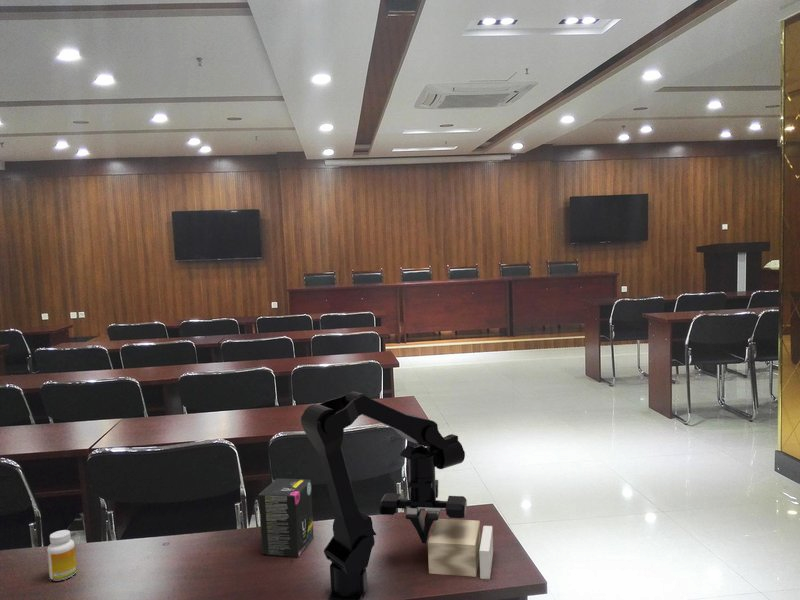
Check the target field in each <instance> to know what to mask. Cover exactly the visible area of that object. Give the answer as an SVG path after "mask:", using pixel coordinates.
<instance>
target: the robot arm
mask: <svg viewBox="0 0 800 600" xmlns="http://www.w3.org/2000/svg"><path fill="white" fill-rule="evenodd" d="M360 416H363V417H366V418H368V419H370V420H373V421H376V422H378V423H380V424H382V425H384V426H387V427H389V428H391V429H393V430H394V431H395V432H396V433H397V434H398V435H400V436H401V437H402V438H403V439H405V440H406V441H408V442H411V443H414V444H417V445H418V446H414V447H413V446H411V445H408V444H407V445H406V446H405V448H404V449H403V450H402V451H401V452H400V454H399V455H400V457H402V458H404V459H407V460H408V473H409V474H408V476H407V477H408V479H407V488H408V490H409V499H405V498H403V496H402V493H396V492H395V493H392V492H387V493H385V494H384V495H383V496H382V498H381V500H380V502H379V514H380V515H382V516H383V515H384V516H393V515H395V514H396V513H397V512H398V509H405V511H406V514H405V519H406V520H409V521H410V522H411V524H412V525H413V527H414V529H415V530H416V532H417V535H418V537H419V539H420V540H421V543H422V544H427V543H428V539H429V538H428V537H429V536H430V530H431V527H432V525H433V523H434V521H437V520H438V519H440V516H441V513H442V511H445V512H446V513H445V514H446V516H448V518H449V519H465V517H466V513H467V508H468V506H467V505H468V503H467V502H468V501H467V498H466V497H465V496H463V495H448V498H447V499H446V500H439V499H438V498H439V479H436V469H438V470H445V469H447V468H450V467H452V466H457V465H460V464H462V463H463V462H464V460H465V457H466V456H465V455H466V452H465V449H464V447H463V444H462V443H461V442H460V440H459V436H458V435H456V434H453V433H451V434H448V435H446V436H443V435H442V434H441V433H440V431H439V428H438V427H439V425H438V424H437V422H436V421H434V420H431V419H428V418H425V417H422V416H418V415H415V414H410V413H405V412H401V411H399V410H397V409H394V408H392V407H390V406H388V405H386V404H383V403H382V402H379V401H377V400H374V399H373V398H370V397H369V396H367V394H364V393H361V392H357V391H350V392H347V393H345V394H343V395H341V396H337V397H335V398H331V399H328V400H325V401H323V402H321V403H319V404H318V403H315V404H311V405H309V406H308V407H306V408H305V410H304V411H303V413H302V415H301V417H300V423H301V427H302V428H303V431H304V434H306V436H307V439H308V440H309V441H310V443H311V445H312V446H313V447H314V449H315V450H316V451H317V455H318V458H319V460H320V465H321V469H322V472H323V475H324V479H325V483H326V486H327V490H328V493H329V497H330V500H331V504H332V507H333V511H334V512H333V513H334V519H333V524H332V532H333V536H332V537H331V538H330V540H329V542H328V543H327V545H326V547H325V548H324V549H323V555H324V556H325V558H326V560H328V561H330V562H331V563H330V564H329V576H330V579H329V580H330V592H329V594H328V600H362V597H363V595H364V594H365V592H366V591H367V588H368V577H367V576H368V572H367V568H368V566H369V562H370V559H371V554H372V549H373V547H374V546H375V536H377V533H376V532H375V530H374V527H373V520H372V517H371V516H370V515H368V514H366V513H365V512H363V511H361V510H359V508H358V503H357V501H356V500H357V499H356V497H355V494H354V489H353V485H352V482H351V478H350V474H349V471H348V470H349V469H348V467H347V464H346V459H345V455H344V452H343V449H342V448H343V447H342V446H343V441H344V438H345V431H344V430H345V429H346V428H348V427H349V426H351V425H352V424H353V423H354V422H355V421H356V420H357V419H358V418H359V417H360ZM437 499H438V500H437ZM423 510H425V511H426V513H425V516H424V515H423V514H424V513H423ZM423 517H424V518H423Z"/></svg>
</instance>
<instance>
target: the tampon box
mask: <svg viewBox="0 0 800 600" xmlns="http://www.w3.org/2000/svg"><path fill="white" fill-rule="evenodd" d="M312 495H313V494H312V480H311V479H299V478H298V479H297V478H275V479H274V480H272V482H271V483H270V484H269V485H268V486H266V487H265V488H264V489H263V490H262V491H260V493H259V494H258V502H259V503H258V504H259V518H260V519H259V520H260V521H259V522H260V533H261V534H260V537H261V549H262V550H261V551H262V553H261V554H262V555H263V554H266V555H265V556H278V557H291V558H293V557H294V558H299V557H300V556H301V555H302V553H303V552H304V551H305V549H306V548H307V547H308V546H309V544H310V543H311V542H312V541H313V539H314V538H315V537H314V524H313V523H314V521H313V520H314V519H313V496H312Z"/></svg>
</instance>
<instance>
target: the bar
mask: <svg viewBox="0 0 800 600" xmlns="http://www.w3.org/2000/svg"><path fill="white" fill-rule="evenodd" d="M493 533H494V532H493V525H483V527H482V533H481V537H480V550H479V554H480V556H479V576H480V577H479V578H480V580H481V579H482V580H490V579H491V574H492V564H493V556H494V539H493V538H494V536H493Z"/></svg>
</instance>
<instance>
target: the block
mask: <svg viewBox="0 0 800 600" xmlns="http://www.w3.org/2000/svg"><path fill="white" fill-rule="evenodd" d="M480 528H481V521H480V520H473V519H471V520H470V519H456V518H439V519H438V520H437V521H435V522H434V524H433V527H432V530H431V532H430V534H429V538H428V539H427V555H428V556H427V557H428V558H427V559H428V561H427V562H428V574H431V575H447V576H448V575H449V576H459V577H472V578H473V577H477V573H478V567H479V563H480V554H479V550H480V544H481V529H480Z"/></svg>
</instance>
